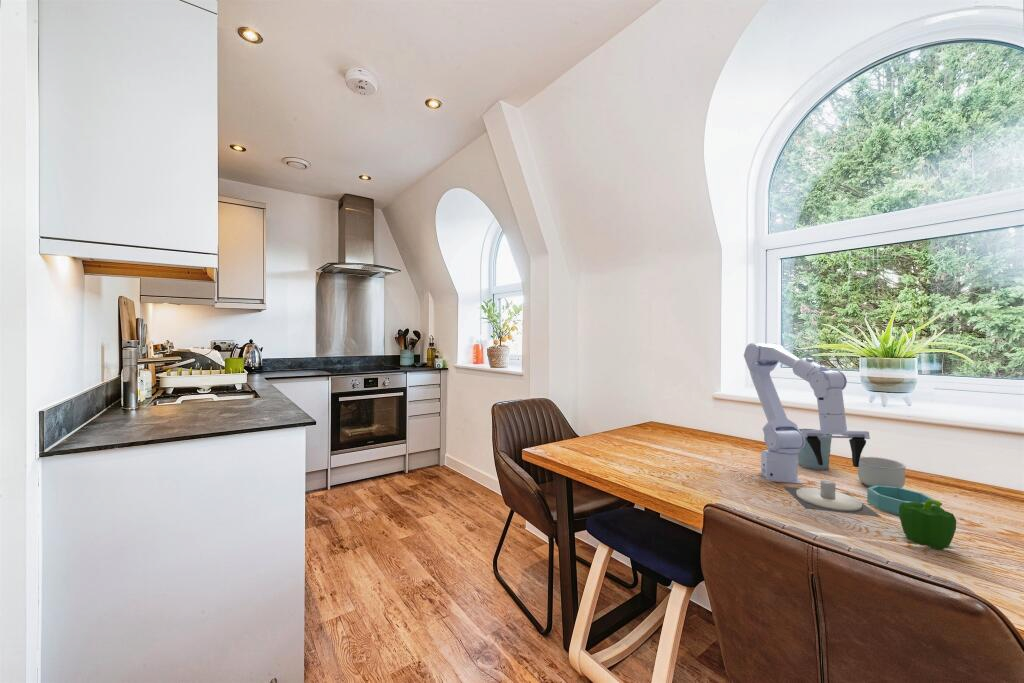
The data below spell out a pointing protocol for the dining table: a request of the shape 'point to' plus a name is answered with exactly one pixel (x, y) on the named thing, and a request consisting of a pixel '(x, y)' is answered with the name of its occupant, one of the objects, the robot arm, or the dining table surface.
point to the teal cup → (808, 456)
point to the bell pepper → (927, 523)
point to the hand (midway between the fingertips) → (837, 465)
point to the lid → (829, 497)
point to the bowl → (893, 497)
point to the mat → (863, 511)
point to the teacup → (881, 472)
